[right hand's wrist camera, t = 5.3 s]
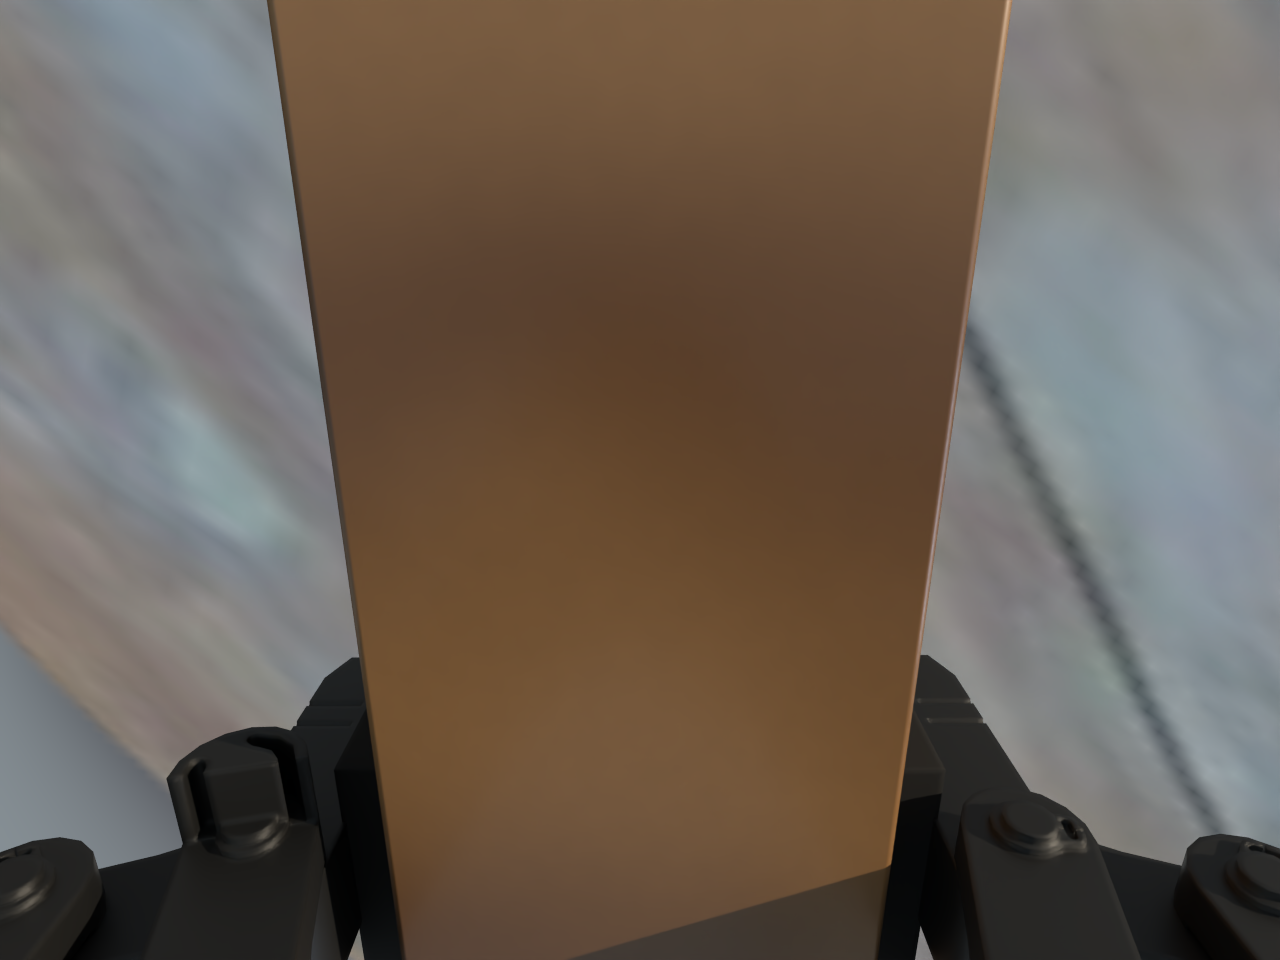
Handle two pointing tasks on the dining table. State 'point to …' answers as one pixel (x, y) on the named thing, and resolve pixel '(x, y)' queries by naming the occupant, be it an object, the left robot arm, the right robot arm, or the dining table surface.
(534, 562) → the bar
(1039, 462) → the dining table surface
